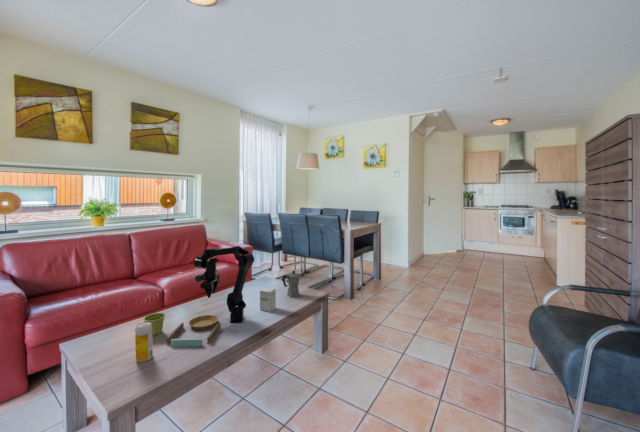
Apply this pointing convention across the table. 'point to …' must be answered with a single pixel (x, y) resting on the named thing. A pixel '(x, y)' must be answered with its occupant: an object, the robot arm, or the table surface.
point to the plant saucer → (203, 322)
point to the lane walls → (183, 327)
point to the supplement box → (267, 299)
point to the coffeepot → (292, 284)
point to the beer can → (144, 341)
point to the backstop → (186, 342)
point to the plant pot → (155, 322)
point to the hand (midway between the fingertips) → (211, 295)
